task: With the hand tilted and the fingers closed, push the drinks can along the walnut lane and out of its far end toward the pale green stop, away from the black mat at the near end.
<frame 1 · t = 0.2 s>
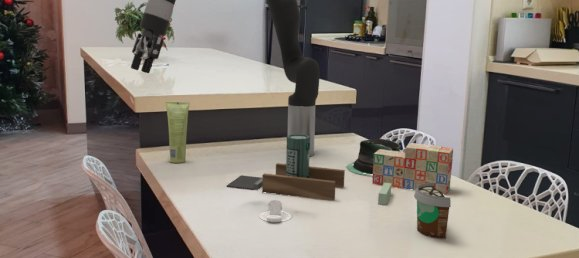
hand: (139, 70, 170), 31 cm above the table, tool tilted 20°, fingers open, 8 cm apart
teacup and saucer: (263, 220, 146), on the table
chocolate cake: (377, 170, 192), on the table
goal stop: (384, 198, 162), on the table
tube: (178, 162, 195), on the table
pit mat: (246, 183, 173), on the table
stack of blocks: (410, 187, 174), on the table
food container: (425, 231, 140), on the table
lane: (303, 189, 168), on the table
can: (297, 189, 169), on the table
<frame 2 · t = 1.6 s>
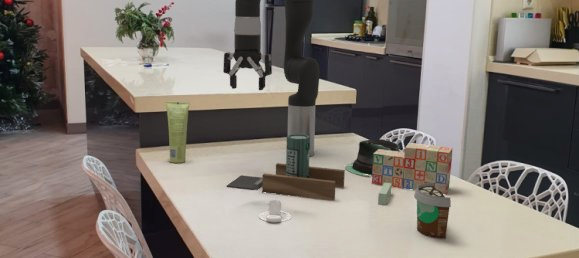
hand: (247, 89, 176), 26 cm above the table, tool pointing down, fingers open, 8 cm apart
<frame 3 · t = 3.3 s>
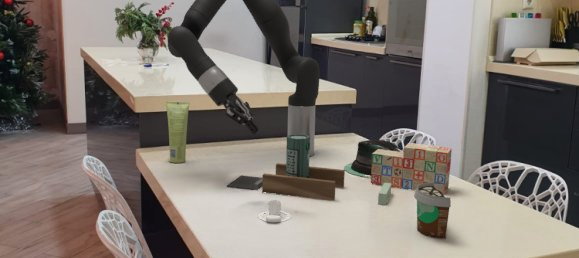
hand: (257, 132, 169), 15 cm above the table, tool tilted 45°, fingers closed
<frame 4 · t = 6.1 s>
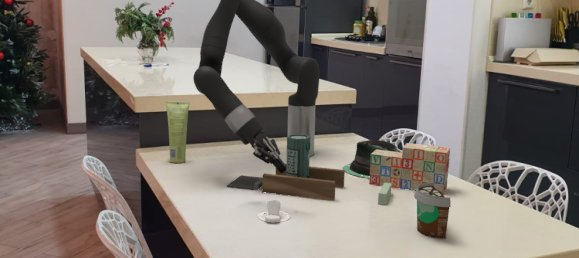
hand: (284, 170, 169), 5 cm above the table, tool tilted 45°, fingers closed
can: (297, 189, 169), on the table, touching gripper
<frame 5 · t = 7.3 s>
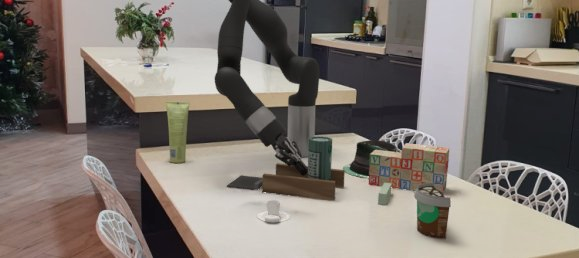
hand: (306, 173, 167), 5 cm above the table, tool tilted 45°, fingers closed
can: (318, 192, 167), on the table, touching gripper
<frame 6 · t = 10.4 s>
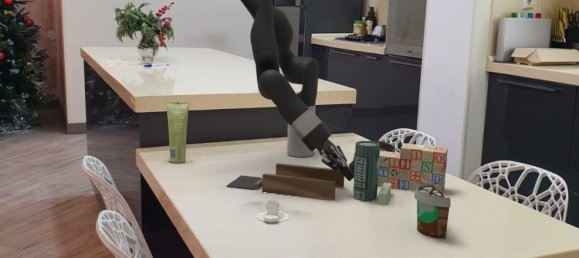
hand: (352, 178, 163), 5 cm above the table, tool tilted 45°, fingers closed
can: (364, 198, 163), on the table, touching gripper
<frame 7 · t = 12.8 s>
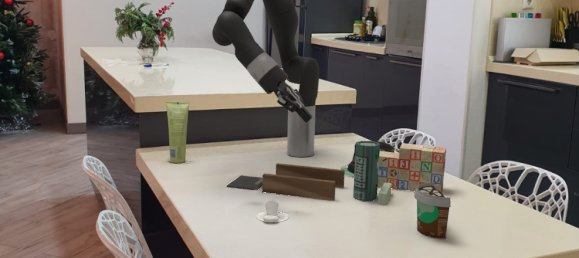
hand: (309, 120, 164), 20 cm above the table, tool tilted 45°, fingers closed
can: (365, 198, 163), on the table
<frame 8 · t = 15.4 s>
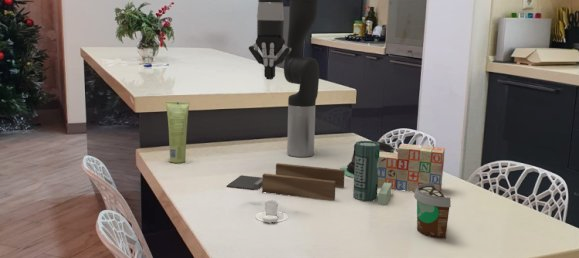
hand: (269, 79, 176), 29 cm above the table, tool pointing down, fingers closed
at the end: can inside the target area (0.9 cm from its centre), on the table; can tilted 0° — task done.
